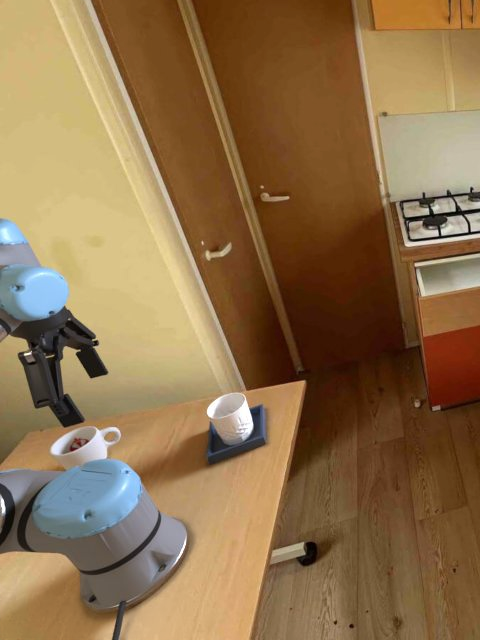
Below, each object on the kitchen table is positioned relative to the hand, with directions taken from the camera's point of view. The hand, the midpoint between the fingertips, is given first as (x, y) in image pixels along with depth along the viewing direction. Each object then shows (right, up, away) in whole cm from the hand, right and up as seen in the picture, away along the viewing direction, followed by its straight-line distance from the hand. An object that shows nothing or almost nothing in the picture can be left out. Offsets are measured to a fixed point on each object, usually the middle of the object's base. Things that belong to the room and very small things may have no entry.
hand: (88, 398), depth 81 cm
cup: (-14, -20, +16) cm, 29 cm away
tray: (+15, -17, +22) cm, 32 cm away
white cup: (+15, -17, +22) cm, 31 cm away
